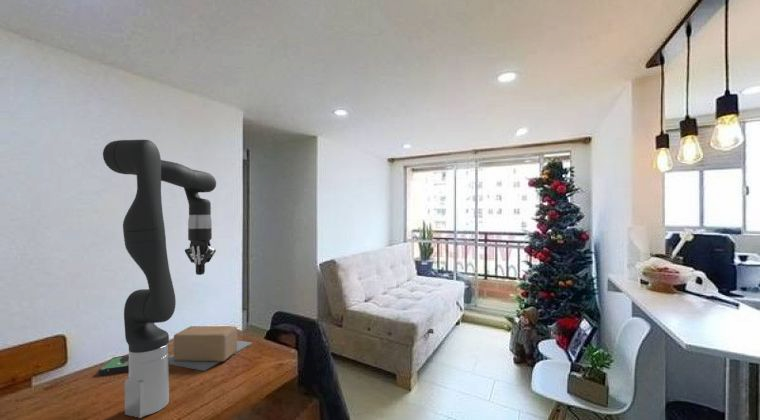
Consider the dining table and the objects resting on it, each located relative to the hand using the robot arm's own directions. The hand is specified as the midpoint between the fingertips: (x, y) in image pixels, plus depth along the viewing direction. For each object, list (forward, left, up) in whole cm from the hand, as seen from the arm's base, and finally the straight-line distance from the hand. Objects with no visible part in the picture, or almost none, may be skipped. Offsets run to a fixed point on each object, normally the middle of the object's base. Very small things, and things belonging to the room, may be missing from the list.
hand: (200, 274), depth 115 cm
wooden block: (+8, -7, -27) cm, 29 cm away
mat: (+9, +6, -33) cm, 35 cm away
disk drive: (-8, +25, -34) cm, 43 cm away
